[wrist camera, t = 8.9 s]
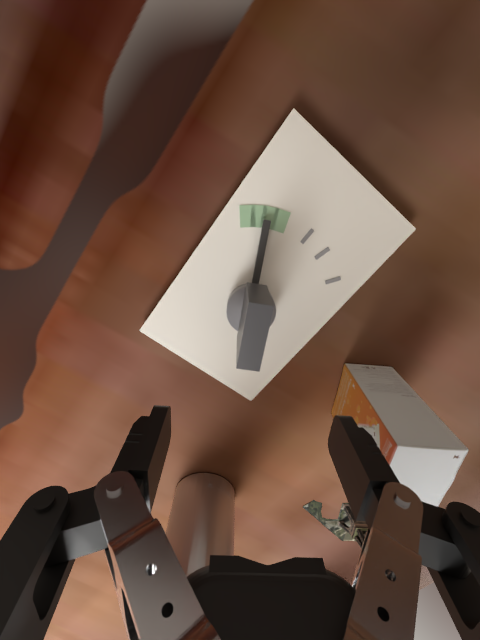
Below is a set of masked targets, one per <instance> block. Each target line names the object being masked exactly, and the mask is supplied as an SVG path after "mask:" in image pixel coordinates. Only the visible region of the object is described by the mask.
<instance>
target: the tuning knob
mask: <svg viewBox="0 0 480 640" xmlns="http://www.w3.org/2000/svg"><path fill="white" fill-rule="evenodd" d="M270 224H271V220H265V219H263V224H262V229H261V235H260V240H259V245H258V251H257V256H256V262H255V267H254V272H253V278H252V283H249V282H247V283H246V284H242V285H240V286H238V287H237V288H235V289H234V290H233V291H232V293H231V294H230V296H229V298H228V302H227V311H226V312H227V318H228V321H229V323H230V325H231V326H232V327H233V328H234V329H235V330H237V331H238V333H237V354H236V369H243V370H250V371H258V372H260V367H261V363H262V358H263V354H264V349H265V345H266V340H267V336H268V332H269V327H270V326H271V325H272V323H273V322H274V320H275V316H276V306H275V303H274V300H273V297H272V295H271V293H270V292H269V290H268V287H267V285H262V284H259V280H260V275H261V270H262V265H263V260H264V255H265V250H266V244H267V239H268V234H269V229H270Z"/></svg>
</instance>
